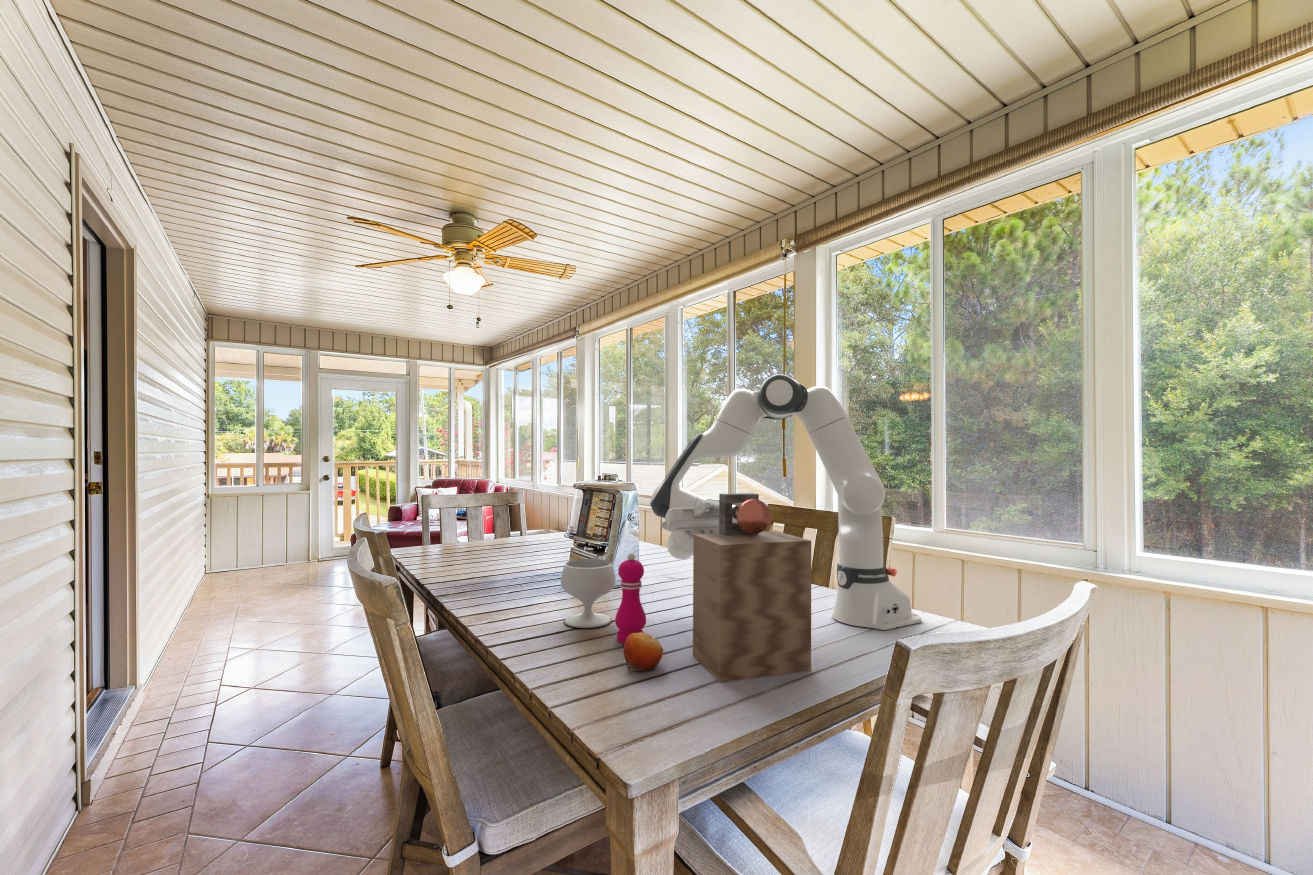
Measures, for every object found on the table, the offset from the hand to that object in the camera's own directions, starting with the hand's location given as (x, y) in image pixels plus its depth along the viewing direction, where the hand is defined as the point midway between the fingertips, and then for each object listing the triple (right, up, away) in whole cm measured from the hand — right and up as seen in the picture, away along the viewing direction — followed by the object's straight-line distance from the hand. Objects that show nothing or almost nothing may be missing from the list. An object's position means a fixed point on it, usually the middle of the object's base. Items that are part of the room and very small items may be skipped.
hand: (715, 505), depth 134 cm
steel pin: (+2, -4, -7) cm, 9 cm away
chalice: (-32, -31, +9) cm, 45 cm away
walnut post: (+5, -31, -18) cm, 36 cm away
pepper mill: (-20, -31, -4) cm, 37 cm away
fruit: (-17, -31, -21) cm, 41 cm away
